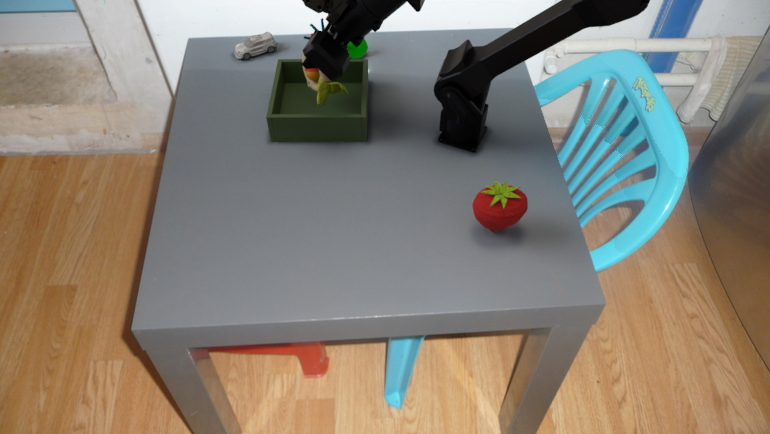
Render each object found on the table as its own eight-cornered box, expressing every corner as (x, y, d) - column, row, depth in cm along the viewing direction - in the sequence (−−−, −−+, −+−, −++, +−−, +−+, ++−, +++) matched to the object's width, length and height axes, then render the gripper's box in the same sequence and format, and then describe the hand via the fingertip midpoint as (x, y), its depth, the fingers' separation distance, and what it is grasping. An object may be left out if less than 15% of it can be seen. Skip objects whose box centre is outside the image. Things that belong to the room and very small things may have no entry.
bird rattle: (299, 105, 99) (327, 112, 92) (275, 41, 93) (302, 43, 86) (328, 90, 101) (358, 95, 94) (307, 27, 96) (336, 27, 89)
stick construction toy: (302, 59, 106) (307, 14, 105) (297, 59, 113) (302, 17, 111) (366, 70, 110) (372, 26, 108) (357, 70, 116) (363, 29, 115)
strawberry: (527, 243, 81) (541, 194, 74) (474, 250, 81) (483, 201, 73) (513, 211, 85) (526, 161, 78) (463, 218, 84) (470, 168, 77)
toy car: (232, 52, 111) (229, 38, 109) (271, 41, 114) (269, 27, 112) (238, 62, 109) (235, 48, 107) (278, 50, 112) (276, 37, 110)
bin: (368, 82, 105) (367, 58, 102) (366, 141, 95) (366, 117, 91) (281, 82, 105) (277, 59, 102) (270, 141, 95) (266, 117, 91)
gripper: (353, -73, 85) (292, -10, 95) (309, -10, 73) (244, 54, 83) (405, -15, 89) (341, 39, 100) (372, 53, 78) (303, 107, 88)
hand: (309, 57), depth 93 cm, fingers closed on bird rattle, 4 cm apart
